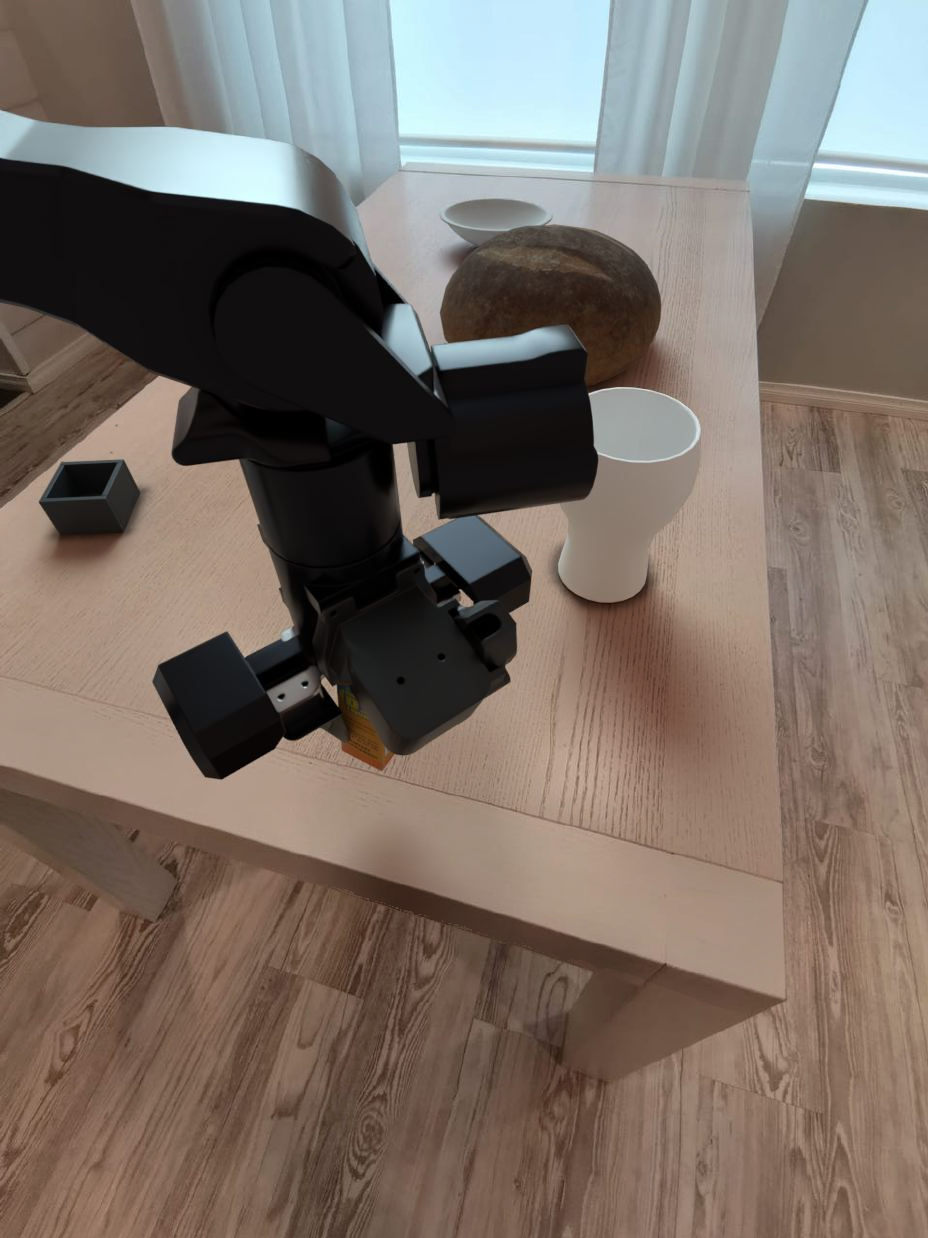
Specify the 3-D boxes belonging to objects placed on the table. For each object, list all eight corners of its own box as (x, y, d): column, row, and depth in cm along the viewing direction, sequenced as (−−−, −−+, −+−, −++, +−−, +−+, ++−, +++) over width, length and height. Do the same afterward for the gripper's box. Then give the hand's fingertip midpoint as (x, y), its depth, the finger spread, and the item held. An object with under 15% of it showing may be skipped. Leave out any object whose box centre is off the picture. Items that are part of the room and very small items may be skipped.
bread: (608, 421, 73) (629, 301, 62) (405, 364, 81) (396, 251, 71) (679, 324, 87) (705, 214, 77) (500, 284, 96) (503, 181, 86)
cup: (517, 576, 57) (527, 428, 46) (585, 515, 62) (609, 368, 51) (621, 637, 53) (661, 489, 41) (685, 565, 58) (736, 416, 46)
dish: (554, 234, 108) (557, 199, 104) (544, 269, 99) (547, 233, 95) (450, 228, 110) (449, 194, 107) (431, 262, 101) (430, 227, 97)
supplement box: (336, 753, 40) (327, 645, 33) (367, 715, 43) (365, 605, 36) (381, 778, 39) (382, 672, 32) (410, 737, 42) (417, 629, 35)
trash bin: (123, 531, 62) (105, 498, 59) (59, 535, 62) (38, 502, 59) (140, 491, 66) (123, 458, 63) (80, 494, 66) (61, 461, 63)
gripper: (187, 787, 19) (296, 932, 31) (631, 533, 26) (582, 731, 38) (83, 573, 25) (208, 763, 37) (468, 411, 32) (470, 615, 44)
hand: (375, 717), depth 39 cm, fingers closed on supplement box, 4 cm apart
